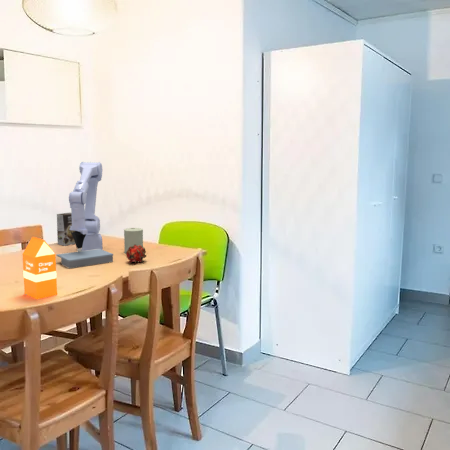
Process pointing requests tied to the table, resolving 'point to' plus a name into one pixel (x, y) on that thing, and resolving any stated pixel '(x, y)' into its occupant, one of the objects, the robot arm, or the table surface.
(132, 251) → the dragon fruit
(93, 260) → the grey hinged box
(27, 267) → the orange juice
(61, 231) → the coffee box
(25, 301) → the table surface
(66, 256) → the lid
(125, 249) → the can
